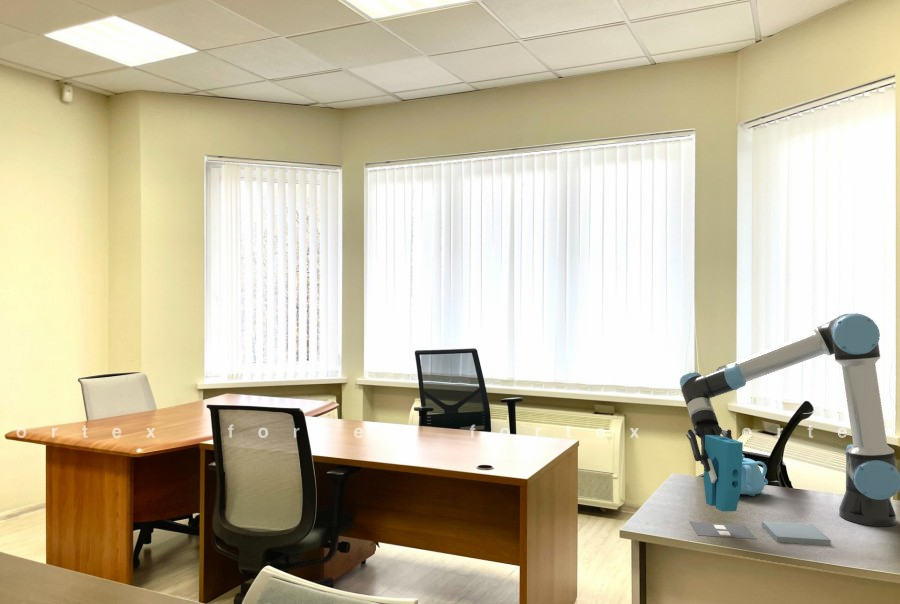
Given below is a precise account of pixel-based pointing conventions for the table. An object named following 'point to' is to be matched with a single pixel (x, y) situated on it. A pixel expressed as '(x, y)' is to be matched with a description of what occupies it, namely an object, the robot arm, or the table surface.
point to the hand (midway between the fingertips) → (724, 480)
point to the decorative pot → (752, 477)
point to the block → (723, 472)
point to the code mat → (722, 530)
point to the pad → (795, 533)
